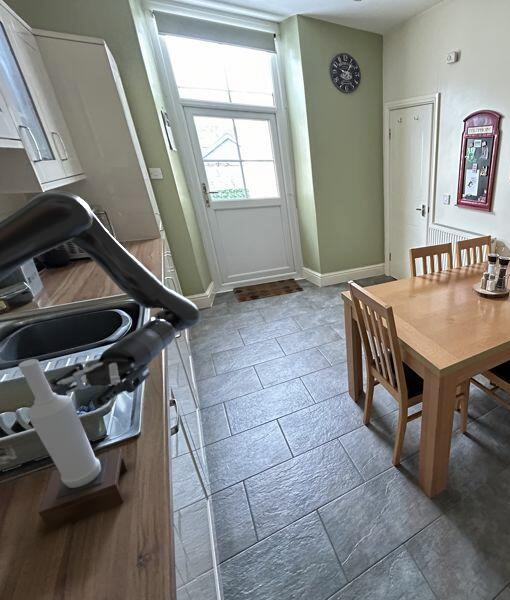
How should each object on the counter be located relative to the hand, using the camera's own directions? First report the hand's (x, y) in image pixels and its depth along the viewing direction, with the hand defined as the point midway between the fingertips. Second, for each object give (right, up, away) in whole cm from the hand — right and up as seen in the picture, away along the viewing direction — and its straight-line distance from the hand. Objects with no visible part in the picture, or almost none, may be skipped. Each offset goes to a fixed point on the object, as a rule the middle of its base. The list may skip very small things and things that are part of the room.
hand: (69, 403), depth 57 cm
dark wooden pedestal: (-1, -19, +5) cm, 20 cm away
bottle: (-1, -15, +3) cm, 15 cm away
